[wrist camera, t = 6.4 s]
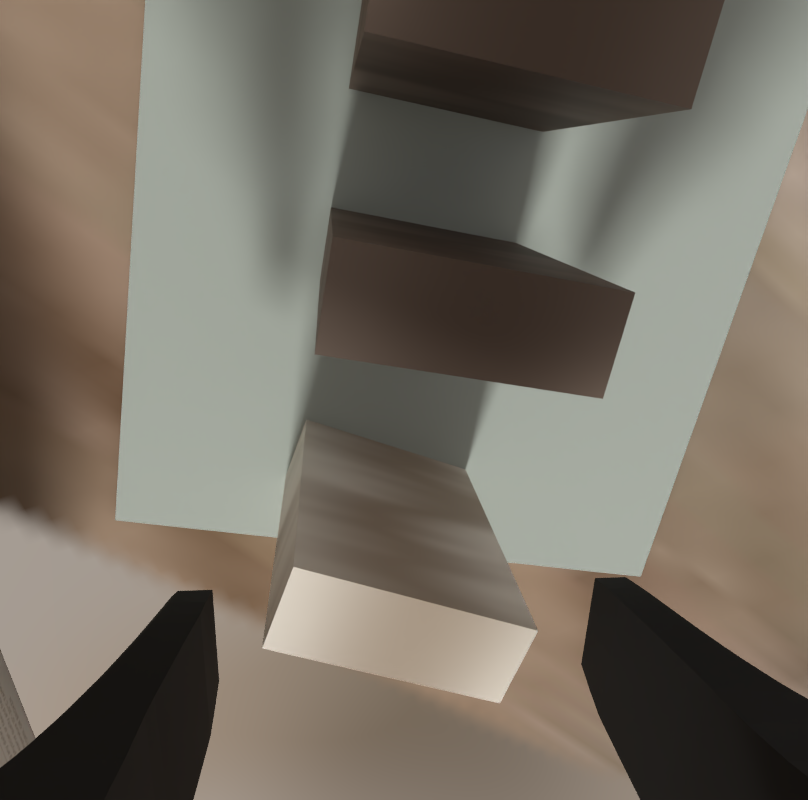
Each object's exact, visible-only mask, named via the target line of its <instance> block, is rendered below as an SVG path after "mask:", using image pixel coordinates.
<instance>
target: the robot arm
mask: <svg viewBox="0 0 808 800" xmlns="http://www.w3.org/2000/svg"><path fill="white" fill-rule="evenodd" d="M581 664H582V667H583V670H584V673H585V676H586V680H587V683H588V686H589V689H590V692H591V695H592V697H593V700H594V703H595V706H596V708H597V711H598V714H599V716H600V718H601V720H602V723H603V725H604V727H605V729H606V731H607V733H608V735H609V737H610V739H611V741H612V743H613V745H614V747H615V749H616V752H617V754H618V756H619V758H620V760H621V762H622V764H623V766H624V768H625V770H626V772H627V774H628V776H629V778H630V780H631V782H632V784H633V786H634V788H635V790H636V791H637V794H638V796H639V798H640V800H808V699H807V698H805V697H803V696H802V695H800V694H798V693H796V692H794V691H793V690H791V689H789V688H788V687H786V686H784V685H783V684H781V683H779V682H778V681H776V680H774V679H773V678H771V677H770V676H768V675H767V674H765V673H763V672H762V671H760V670H759V669H757V668H756V667H754V666H752V665H751V664H749V663H748V662H746V661H745V660H743V659H742V658H740V657H739V656H737V655H736V654H734V653H733V652H731V651H730V650H728V649H727V648H725V647H724V646H722V645H721V644H719V643H718V642H717V641H715V640H714V639H712V638H711V637H709V636H708V635H707V634H705V633H704V632H702V631H701V630H699V629H698V628H697V627H695V626H694V625H692V624H691V623H690V622H688V621H687V620H685V619H684V618H683V617H681V616H680V615H679V614H677V613H676V612H674V611H673V610H672V609H670V608H669V607H668V606H666V605H665V604H663V603H662V602H661V601H659V600H658V599H657V598H655V597H654V596H652V595H651V594H650V593H648V592H647V591H645V590H644V589H642V588H641V587H640V586H638V585H637V584H635V583H634V582H632V581H630V580H629V579H627V578H626V577H620V578H595V582H594V588H593V595H592V601H591V607H590V613H589V620H588V626H587V632H586V638H585V645H584V651H583V657H582V663H581ZM218 684H219V674H218V661H217V648H216V634H215V621H214V607H213V593H212V590H196V591H177V592H176V593H175V594H174V595H173V596H172V597H171V598H170V599H169V600H168V602H167V603H166V604H165V605H164V607H163V608H162V609H161V610H160V611H159V612H158V614H157V615H156V616H155V617H154V618H153V620H152V621H151V622H150V623H149V624H148V625H147V626H146V628H145V629H144V630H143V631H142V632H141V633H140V635H139V636H138V637H137V638H136V639H135V640H134V641H133V643H132V644H131V645H130V646H129V647H128V648H127V649H126V650H125V651H124V652H123V653H122V654H121V656H120V657H119V658H118V659H117V660H116V661H115V662H114V663H113V664H112V665H111V666H110V668H109V669H108V670H107V671H106V672H105V673H104V674H103V675H102V676H101V677H100V678H99V679H98V680H97V681H96V682H95V683H94V684H93V685H92V686H91V687H90V688H89V689H88V690H87V691H86V692H85V693H84V694H83V695H82V696H81V697H80V698H79V699H78V700H77V701H76V702H75V703H74V704H73V705H72V706H71V707H70V708H69V709H68V710H67V711H66V712H65V713H63V714H62V715H61V716H60V717H59V718H58V719H57V720H56V721H55V722H54V723H53V724H51V725H50V726H49V727H48V728H47V729H46V730H45V731H44V732H43V733H42V734H40V735H39V736H38V737H37V738H36V739H35V740H33V741H32V742H31V743H30V744H29V745H27V746H26V747H25V748H24V749H23V750H21V751H20V752H19V753H18V754H17V755H16V756H14V757H13V758H12V759H11V760H9V761H8V762H7V763H6V764H4V765H3V766H2V767H0V800H193V799H194V795H195V791H196V788H197V784H198V781H199V777H200V773H201V769H202V766H203V762H204V758H205V755H206V751H207V747H208V743H209V739H210V736H211V729H212V723H213V717H214V710H215V704H216V697H217V690H218Z"/></svg>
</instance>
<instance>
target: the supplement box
mask: <svg viewBox="0 0 808 800" xmlns="http://www.w3.org/2000/svg"><path fill="white" fill-rule="evenodd" d="M33 740H35V737H34V734H33V731H32V729H31V726H30V724H29V721H28V719H27V716H26V714H25V711H24V708H23V706H22V703H21V701H20V698H19V696H18V693H17V691H16V688H15V686H14V683H13V681H12V678H11V676H10V673H9V671H8V668H7V666H6V663H5V661H4V659H3V656H2V653H1V650H0V767H2V766H3V765H4V764H6V763H7V762H8V761H9V760H11V759H12V758H13V757H14V756H16V755H17V754H18V753H19V752H20V751H21V750H23V749H24V748H25V747H26V746H27V745H29V744H30V743H31V742H32V741H33Z"/></svg>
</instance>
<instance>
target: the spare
mask: <svg viewBox="0 0 808 800" xmlns="http://www.w3.org/2000/svg"><path fill="white" fill-rule="evenodd" d="M537 632H538V630H537V627H536V625H535V623H534V621H533V618H532V616H531V614H530V612H529V610H528V607H527V605H526V603H525V601H524V598H523V596H522V594H521V592H520V590H519V587H518V585H517V583H516V581H515V578H514V576H513V574H512V572H511V570H510V567H509V565H508V563H507V561H506V558H505V556H504V554H503V552H502V550H501V547H500V545H499V543H498V541H497V538H496V536H495V534H494V532H493V530H492V527H491V525H490V523H489V521H488V518H487V516H486V514H485V512H484V510H483V507H482V505H481V503H480V501H479V498H478V496H477V494H476V492H475V490H474V487H473V485H472V483H471V481H470V478H469V476H468V474H467V472H466V470H465V469H463V468H460V467H456V466H453V465H450V464H447V463H444V462H440V461H437V460H434V459H431V458H428V457H425V456H421V455H418V454H415V453H412V452H409V451H405V450H402V449H399V448H396V447H393V446H390V445H386V444H383V443H380V442H377V441H374V440H370V439H367V438H364V437H361V436H358V435H355V434H351V433H348V432H345V431H342V430H339V429H335V428H332V427H329V426H326V425H323V424H320V423H316V422H313V421H310V420H307V419H306V421H305V424H304V427H303V430H302V432H301V435H300V438H299V441H298V443H297V446H296V449H295V452H294V454H293V457H292V460H291V463H290V466H289V468H288V471H287V474H286V478H285V485H284V492H283V500H282V507H281V514H280V522H279V529H278V536H277V543H276V551H275V558H274V565H273V573H272V580H271V587H270V595H269V602H268V609H267V617H266V624H265V631H264V638H263V646H262V648H263V649H268V650H272V651H276V652H280V653H284V654H289V655H293V656H297V657H302V658H306V659H310V660H315V661H319V662H323V663H328V664H332V665H336V666H341V667H345V668H349V669H354V670H358V671H362V672H367V673H371V674H375V675H380V676H384V677H388V678H392V679H397V680H401V681H405V682H410V683H414V684H418V685H423V686H427V687H431V688H436V689H440V690H444V691H449V692H453V693H457V694H462V695H466V696H470V697H475V698H479V699H483V700H488V701H492V702H496V703H500V702H501V700H502V698H503V696H504V694H505V692H506V691H507V689H508V687H509V685H510V683H511V681H512V679H513V677H514V675H515V674H516V672H517V670H518V668H519V666H520V664H521V662H522V660H523V658H524V656H525V655H526V653H527V651H528V649H529V647H530V645H531V643H532V641H533V639H534V638H535V636H536V634H537Z"/></svg>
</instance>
